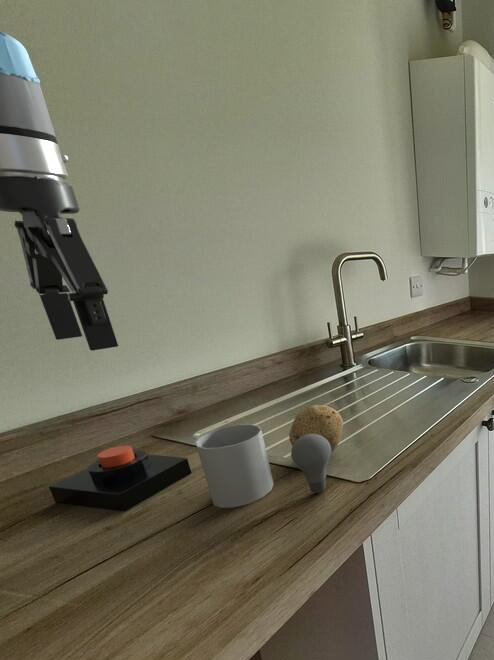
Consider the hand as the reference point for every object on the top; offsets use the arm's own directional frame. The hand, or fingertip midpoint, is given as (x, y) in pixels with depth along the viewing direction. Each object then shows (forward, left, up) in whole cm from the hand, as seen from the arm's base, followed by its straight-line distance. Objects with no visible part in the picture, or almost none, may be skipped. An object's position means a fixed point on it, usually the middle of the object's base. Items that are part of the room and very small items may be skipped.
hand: (86, 343), depth 59 cm
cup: (+18, +2, -24) cm, 30 cm away
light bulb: (+30, +4, -24) cm, 39 cm away
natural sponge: (+23, +15, -24) cm, 37 cm away
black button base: (-2, 0, -24) cm, 24 cm away
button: (-2, 0, -20) cm, 20 cm away
